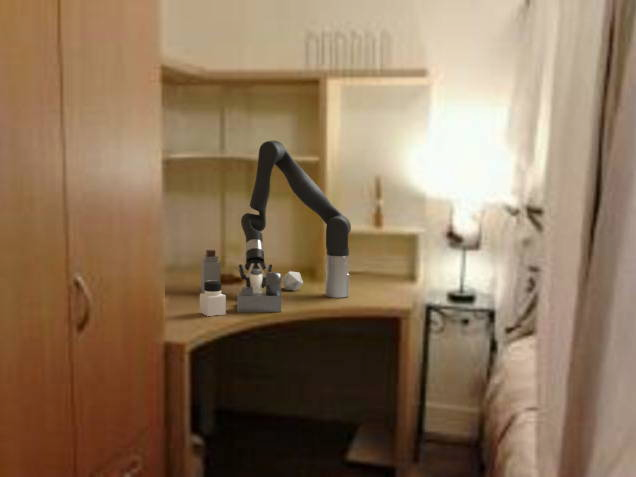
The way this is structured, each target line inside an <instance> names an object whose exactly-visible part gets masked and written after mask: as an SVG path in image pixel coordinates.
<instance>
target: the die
mask: <svg viewBox="0 0 636 477" xmlns="http://www.w3.org/2000/svg"><path fill="white" fill-rule="evenodd" d="M281 282H282V283H283V286H284V289H285V290H286V291H291V290H292V292H296V291H297V290H299V289H300V288H301V286H303V285H304V281H303V278H302V276H301V273H300V272H299V271H298V272H297V271H291V270H289V271H288V272H287V273H286V274H285V275H284V276H283V277H281Z"/></svg>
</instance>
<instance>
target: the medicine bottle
mask: <svg viewBox="0 0 636 477" xmlns="http://www.w3.org/2000/svg"><path fill="white" fill-rule="evenodd" d="M204 292H205V293H200V294H199V313H200V314H201V313H202V315H203V314H204V316H205V315H207V316H206V317H208V316H211V317H215V316H214V315H219V316H225V315H226V314H227V312H226V311H227V308H226V307H227V295H225V294H223V293H222V282H221V280H220V281H217V280H209V281H206V282H205V283H204Z"/></svg>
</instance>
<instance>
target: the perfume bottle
mask: <svg viewBox="0 0 636 477" xmlns="http://www.w3.org/2000/svg"><path fill="white" fill-rule="evenodd" d="M202 257H203V260H200V294H202V293H205V292H204V283H205V282H206V281H209V280H217V281H220V282H221V273H222V272H221V270H222V269H221V267H222V264H221V261H219V256H218V255H216V250H215V249H206V250H205V254H203V255H202Z"/></svg>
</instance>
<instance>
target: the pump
mask: <svg viewBox="0 0 636 477" xmlns="http://www.w3.org/2000/svg"><path fill="white" fill-rule="evenodd" d="M262 279H263V274H260V269H252V273H251V274H250V287H252V288H253V293H263V288H262Z"/></svg>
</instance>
